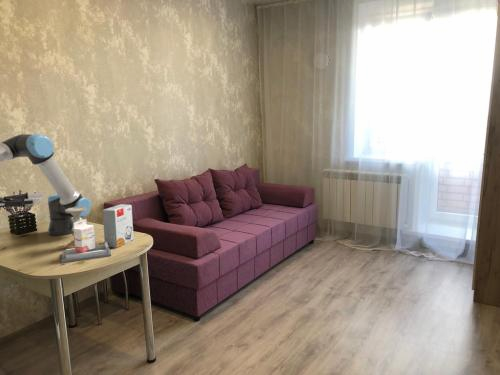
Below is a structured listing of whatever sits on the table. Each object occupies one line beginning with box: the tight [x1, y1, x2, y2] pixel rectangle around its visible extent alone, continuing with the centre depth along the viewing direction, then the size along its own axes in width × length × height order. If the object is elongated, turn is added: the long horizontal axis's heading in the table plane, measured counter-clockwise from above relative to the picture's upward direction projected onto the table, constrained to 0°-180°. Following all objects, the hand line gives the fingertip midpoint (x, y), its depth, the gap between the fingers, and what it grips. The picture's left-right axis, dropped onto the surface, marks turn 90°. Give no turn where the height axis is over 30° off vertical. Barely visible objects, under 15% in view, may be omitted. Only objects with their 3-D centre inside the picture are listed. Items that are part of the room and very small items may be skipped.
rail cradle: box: [61, 240, 112, 264], centre depth 197 cm, size 14×22×4 cm, turn 113°
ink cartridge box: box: [73, 218, 96, 253], centre depth 196 cm, size 9×5×15 cm, turn 157°
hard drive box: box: [102, 203, 134, 249], centre depth 213 cm, size 16×8×20 cm, turn 162°
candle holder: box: [65, 207, 87, 249], centre depth 210 cm, size 12×12×20 cm
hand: (42, 198), depth 188 cm, fingers open, 13 cm apart
